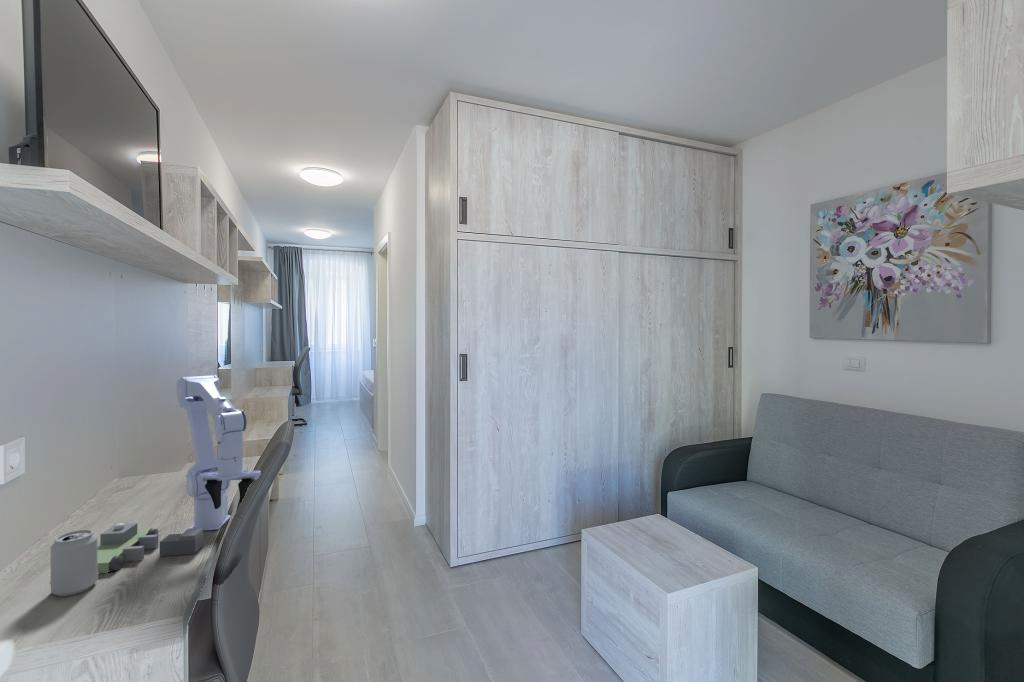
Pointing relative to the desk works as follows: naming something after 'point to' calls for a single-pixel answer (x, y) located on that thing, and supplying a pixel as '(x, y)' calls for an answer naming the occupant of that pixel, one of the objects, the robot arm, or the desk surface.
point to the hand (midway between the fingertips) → (230, 506)
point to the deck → (124, 545)
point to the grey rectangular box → (182, 543)
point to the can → (74, 562)
